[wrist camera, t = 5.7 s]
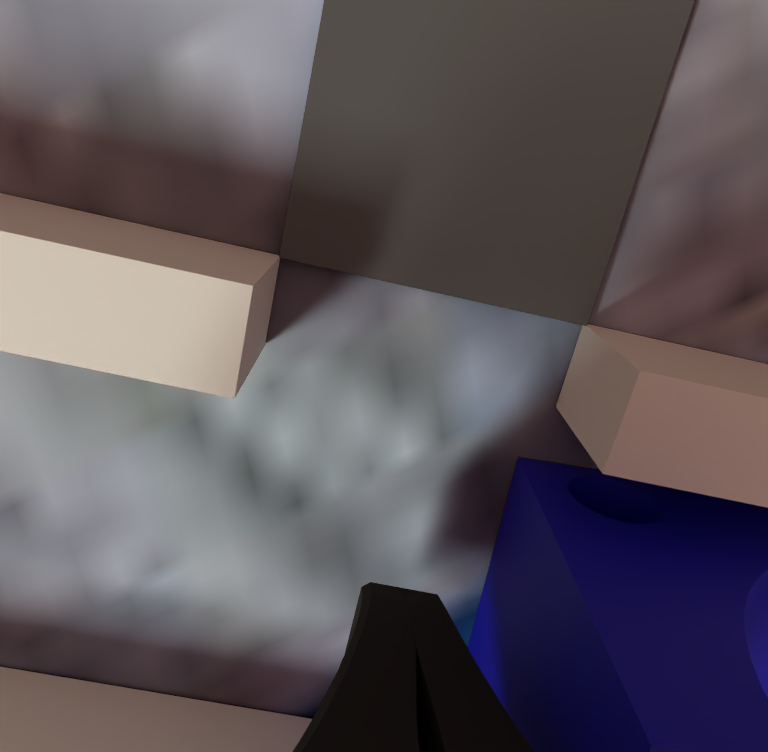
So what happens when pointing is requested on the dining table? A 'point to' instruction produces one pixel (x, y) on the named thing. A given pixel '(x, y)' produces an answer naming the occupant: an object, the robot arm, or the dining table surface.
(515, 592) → the cable clip
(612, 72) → the mat
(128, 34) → the dining table surface
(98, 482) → the dining table surface
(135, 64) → the dining table surface
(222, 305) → the lane
